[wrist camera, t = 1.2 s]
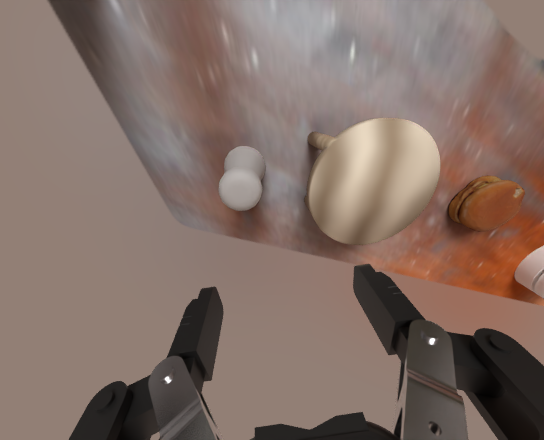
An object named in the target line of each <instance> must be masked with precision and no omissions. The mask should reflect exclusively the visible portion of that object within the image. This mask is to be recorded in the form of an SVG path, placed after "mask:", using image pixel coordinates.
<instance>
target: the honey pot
mask: <svg viewBox="0 0 544 440" xmlns="http://www.w3.org/2000/svg"><path fill="white" fill-rule="evenodd" d="M515 280H516V281H517V282H519V283H520V284H522V285H523V286H525V287H526V288H528V289H530V290H531V291H533V292H534V293H536V294H537V295H539V296H541V297H542V298H544V246H542V247H540V248H538V249H537V250H535V251H533V252H532V253H531V254H529V255H528V256H527V257H526V258H525V259H524V260H523V261H522V262H521V263H520V264H519V266H518V267H517V269H516V271H515Z"/></svg>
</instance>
